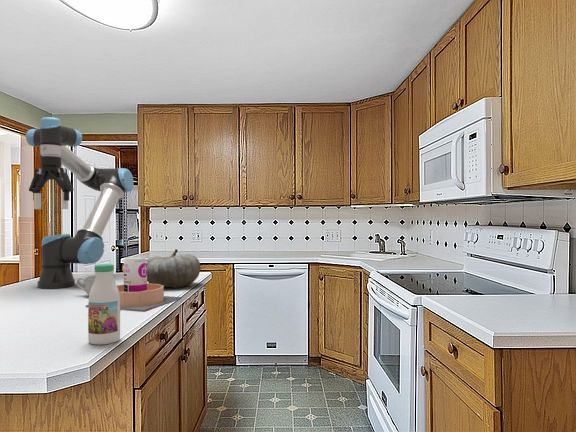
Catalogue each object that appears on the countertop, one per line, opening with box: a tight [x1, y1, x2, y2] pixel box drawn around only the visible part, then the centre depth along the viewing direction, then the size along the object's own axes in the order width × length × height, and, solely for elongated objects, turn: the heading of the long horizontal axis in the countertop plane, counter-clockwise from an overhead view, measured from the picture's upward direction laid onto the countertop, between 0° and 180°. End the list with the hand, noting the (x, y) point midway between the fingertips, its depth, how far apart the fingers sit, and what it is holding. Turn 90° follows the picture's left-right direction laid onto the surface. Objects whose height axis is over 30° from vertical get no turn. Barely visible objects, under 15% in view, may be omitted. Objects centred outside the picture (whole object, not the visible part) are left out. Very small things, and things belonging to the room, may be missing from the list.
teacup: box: [75, 274, 96, 296], centre depth 182 cm, size 14×11×8 cm
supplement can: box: [123, 256, 148, 292], centre depth 168 cm, size 8×8×15 cm
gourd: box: [146, 248, 202, 289], centre depth 204 cm, size 25×25×17 cm
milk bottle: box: [87, 263, 121, 346], centre depth 118 cm, size 8×8×20 cm
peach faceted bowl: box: [85, 282, 182, 313], centre depth 168 cm, size 24×24×6 cm
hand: (51, 209), depth 183 cm, fingers open, 13 cm apart
